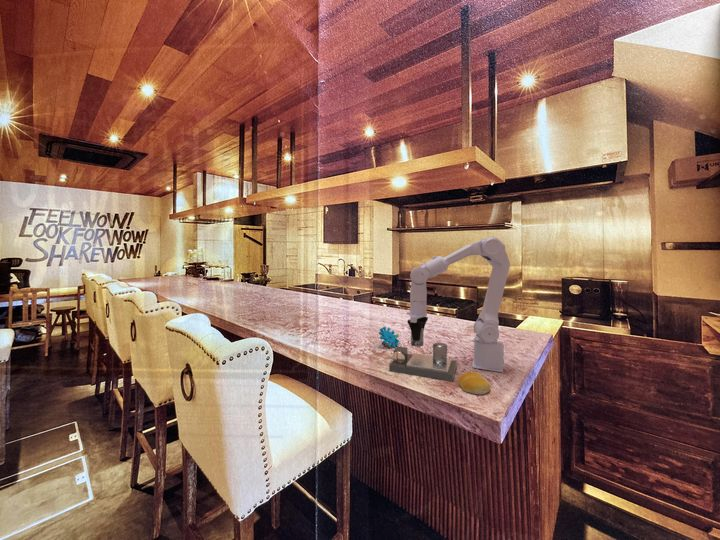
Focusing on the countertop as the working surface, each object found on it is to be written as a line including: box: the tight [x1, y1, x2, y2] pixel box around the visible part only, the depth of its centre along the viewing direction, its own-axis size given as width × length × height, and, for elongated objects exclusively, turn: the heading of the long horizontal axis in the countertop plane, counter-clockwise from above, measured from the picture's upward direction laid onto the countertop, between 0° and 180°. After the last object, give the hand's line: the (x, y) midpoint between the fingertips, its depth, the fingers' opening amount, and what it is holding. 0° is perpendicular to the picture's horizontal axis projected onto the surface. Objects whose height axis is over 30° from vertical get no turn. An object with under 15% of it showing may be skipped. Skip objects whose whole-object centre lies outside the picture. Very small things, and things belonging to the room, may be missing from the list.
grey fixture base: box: [388, 345, 458, 382], centre depth 97 cm, size 20×13×6 cm, turn 67°
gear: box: [378, 326, 400, 349], centre depth 123 cm, size 11×6×10 cm
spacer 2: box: [432, 342, 448, 365], centre depth 95 cm, size 4×4×6 cm
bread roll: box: [457, 371, 491, 395], centre depth 83 cm, size 8×9×4 cm
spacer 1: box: [410, 327, 425, 348], centre depth 104 cm, size 4×4×6 cm
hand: (417, 338), depth 103 cm, fingers closed on spacer 1, 4 cm apart
